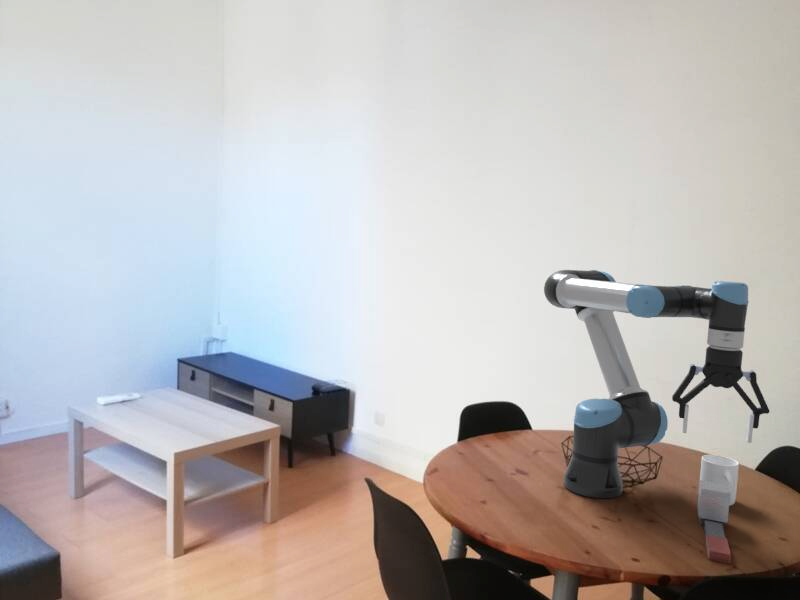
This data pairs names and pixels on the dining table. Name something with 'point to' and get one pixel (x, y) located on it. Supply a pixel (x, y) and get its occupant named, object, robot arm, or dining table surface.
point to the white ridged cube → (713, 501)
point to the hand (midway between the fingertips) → (715, 436)
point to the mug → (720, 472)
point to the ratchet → (716, 541)
